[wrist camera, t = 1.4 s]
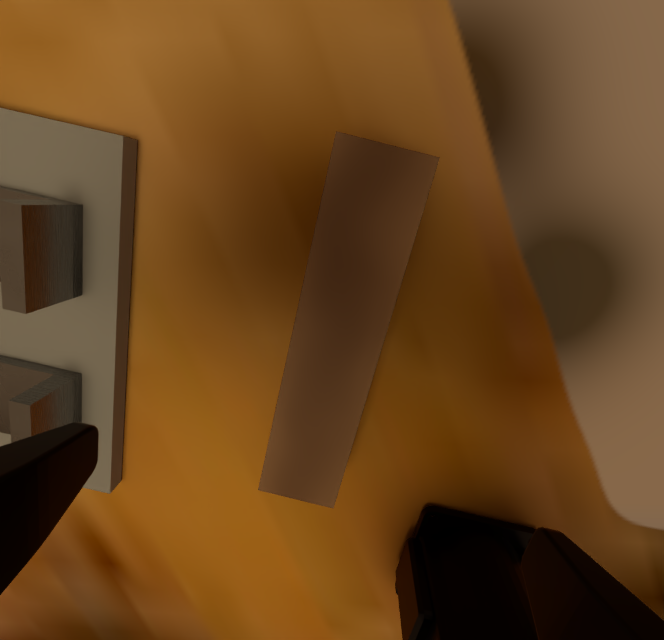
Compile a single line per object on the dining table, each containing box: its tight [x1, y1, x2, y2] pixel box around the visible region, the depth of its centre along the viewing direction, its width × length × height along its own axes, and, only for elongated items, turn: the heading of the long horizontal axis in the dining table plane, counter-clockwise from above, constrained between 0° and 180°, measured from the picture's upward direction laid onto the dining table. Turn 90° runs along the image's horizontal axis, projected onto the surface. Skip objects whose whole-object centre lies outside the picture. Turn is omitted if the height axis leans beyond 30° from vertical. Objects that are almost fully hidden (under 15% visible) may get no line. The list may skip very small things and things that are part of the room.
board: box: [0, 108, 138, 493], centre depth 18 cm, size 12×18×1 cm, turn 168°
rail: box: [258, 131, 440, 508], centre depth 16 cm, size 4×15×4 cm, turn 167°
